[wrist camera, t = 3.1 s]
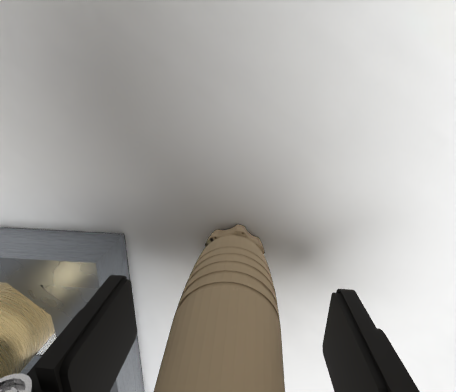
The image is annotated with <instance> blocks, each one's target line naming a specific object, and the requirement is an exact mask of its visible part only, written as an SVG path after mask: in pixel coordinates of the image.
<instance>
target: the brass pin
mask: <svg viewBox="0 0 456 392" xmlns="http://www.w3.org/2000/svg"><path fill="white" fill-rule="evenodd" d="M54 332H55V329H54V326H53V322H52V318H51V315H50V314H48V313H47V312H46V311H44V310H43V309H42V308H40V307H39V306H37V305H36V304H35V303H33V302H32V301H31V300H29V299H28V298H27V297H25V296H24V295H23V294H21V293H20V292H19V291H17V290H16V289H15V288H13V287H12V286H11V285H9V284H8V283H2V282H0V378H3V377H5V376H8V375H12V374H19V373H20V372H21V371H22V370H23V369H24V368H25V366H26V365H27V364H28V363H29V362H30V361H31V359H32V358H33V357H34V356H35V355H36V354H37V352H38V351H39V350H40V349H41V348H42V347H43V345H44V344H45V343H46V342H47V341H48V340H49V338H50V337H51V336H52V335H53V334H54Z"/></svg>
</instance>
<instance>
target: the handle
mask: <svg viewBox="0 0 456 392" xmlns="http://www.w3.org/2000/svg"><path fill="white" fill-rule="evenodd" d="M205 246H206V248H205V249H204V250H203V252H202V253H201V255H200V256H199V258H198V260H197V262H196V264H195V266H194V268H193V270H192V272H191V274H190V277H189V279H188V281H187V283H186V286H185V288H184V291H183V294H182V296H181V299H180V302H179V305H178V307H177V310H176V313H175V316H174V319H173V322H172V326H171V330H170V333H169V337H168V341H167V345H166V348H165V352H164V356H163V359H162V363H161V367H160V370H159V374H158V378H157V381H156V385H155V389H154V392H285V386H284V371H283V356H282V341H281V328H280V321H279V313H278V306H277V300H276V294H275V289H274V286H273V281H272V277H271V274H270V270H269V267H268V264H267V262H266V259H265V257H264V255H263V254H264V253H265V252H264V248H263V245H262V243H261V241H260V239H259V238H258V237H254V236H252V235H251V234H250V233H249V232H248V231H247V230H246V228H245V226H243V225H238V224H237V225H236V226H235V227H233V228H230V229H228V230H215V231H214V232H213V233H212V234H211V235H210V237H209V238H208V240H207V242H206V244H205Z"/></svg>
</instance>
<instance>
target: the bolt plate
mask: <svg viewBox="0 0 456 392" xmlns="http://www.w3.org/2000/svg"><path fill="white" fill-rule="evenodd" d="M110 275H123V276H126V277H127V279H128V280H130V277H129V269H128V261H127V254H126V246H125V238H124V234H116V233H96V232H77V231H57V230H38V229H18V228H0V282H2V283H8V284H9V285H11V286H12V287H13V288H15V289H16V290H17V291H19V292H20V293H21V294H23V295H24V296H25V297H27V298H28V299H29V300H31V301H32V302H33V303H35V304H36V305H37V306H39V307H40V308H42V309H43V310H44V311H46V312H47V313H48V314H50V315H51V318H52V322H53V326H54V329H55V333H56V337H58V336H59V335H60V334H61V332H62V331H63V330H64V329H65V328H66V326H67V325H68V324H69V323H70V321H71V320H72V319H73V318H74V317H75V315H76V314H77V313H78V312H79V311H80V310H81V309H83V308H84V306H85V305H86V304H87V303H88V301H89V300H90V299H91V298H92V297H93V295H94V294H95V293H96V292H97V290H98V289H99V288H100V287H101V286H102V284H103V283H104V282H105V281H106V280H107V278H108V277H109V276H110ZM41 357H42V356H36V355H35V356H34V357H33V358H32V359H31V361H30V362H29V363H28V364H27V365H26V366H25V368H24V369H23V370H22V371H21V372H20V373H19V374H25V375H27V373H28V372H29V371H30V370H31V369H32V367H33V366H34V365H35V364H36V363H37V361H38V360H39V359H40V358H41ZM110 392H144V386H143V378H142V370H141V362H140V355H139V347H138V339H137V335H136V339H135V341H134V343H133V345H132V347H131V350H130V352H129V354H128V356H127V358H126V360H125V362H124V364H123V366H122V368H121V370H120V372H119V374H118V376H117V378H116V380H115V382H114V385H113V387H112V389H111V391H110Z"/></svg>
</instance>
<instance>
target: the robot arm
mask: <svg viewBox="0 0 456 392" xmlns="http://www.w3.org/2000/svg"><path fill="white" fill-rule="evenodd" d="M136 335H137V327H136V319H135V311H134V303H133V295H132V287H131V281H130V280H128V279H127V277H126V276H123V275H110V276H109V277H108V278H107V280H106V281H105V282H104V283H103V284H102V286H101V287H100V288H99V289H98V290H97V292H96V293H95V294H94V295H93V297H92V298H91V299H90V300H89V301H88V303H87V304H86V305H85V306H84V308H83V309H81V310H80V311H79V312H78V313H77V314H76V315H75V317H74V318H73V319H72V320H71V321H70V323H69V324H68V325H67V326H66V328H65V329H64V330H63V331H62V332H61V334H60V335H59V336H58V337H57V338H56V340H55V341H54V342H53V343H52V344H51V346H50V347H49V348H48V349H47V350H46V352H45V353H44V354H43V355H42V357H41V358H40V359H39V360H38V361H37V363H36V364H35V365H34V366H33V367H32V369H31V370H30V371H29V372H28V373H27V375H25V374H12V375H8V376H5V377H3V378H0V392H110V391H111V389H112V387H113V385H114V382H115V380H116V378H117V376H118V374H119V372H120V370H121V368H122V366H123V364H124V362H125V360H126V358H127V356H128V354H129V352H130V350H131V347H132V345H133V343H134V341H135V339H136ZM323 354H324V358H325V361H326V365H327V368H328V371H329V375H330V378H331V381H332V385H333V388H334V391H335V392H419V390H418V388H417V387H416V385H415V383H414V382H413V380H412V378H411V377H410V375H409V373H408V372H407V370H406V368H405V367H404V365H403V363H402V362H401V360H400V358H399V357H398V355H397V353H396V352H395V350H394V348H393V347H392V345H391V343H390V342H389V340H388V338H387V337H386V335H385V333H384V332H383V331H382V330H381V329H377V328H376V327H375V325H374V323H373V321H372V320H371V318H370V316H369V314H368V313H367V311H366V309H365V308H364V306H363V304H362V302H361V301H360V299H359V297H358V295H357V294H356V292H355V291H354V290H347V289H338V290H337V292H336V293H332V296H331V302H330V307H329V313H328V318H327V324H326V329H325V335H324V340H323Z"/></svg>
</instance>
